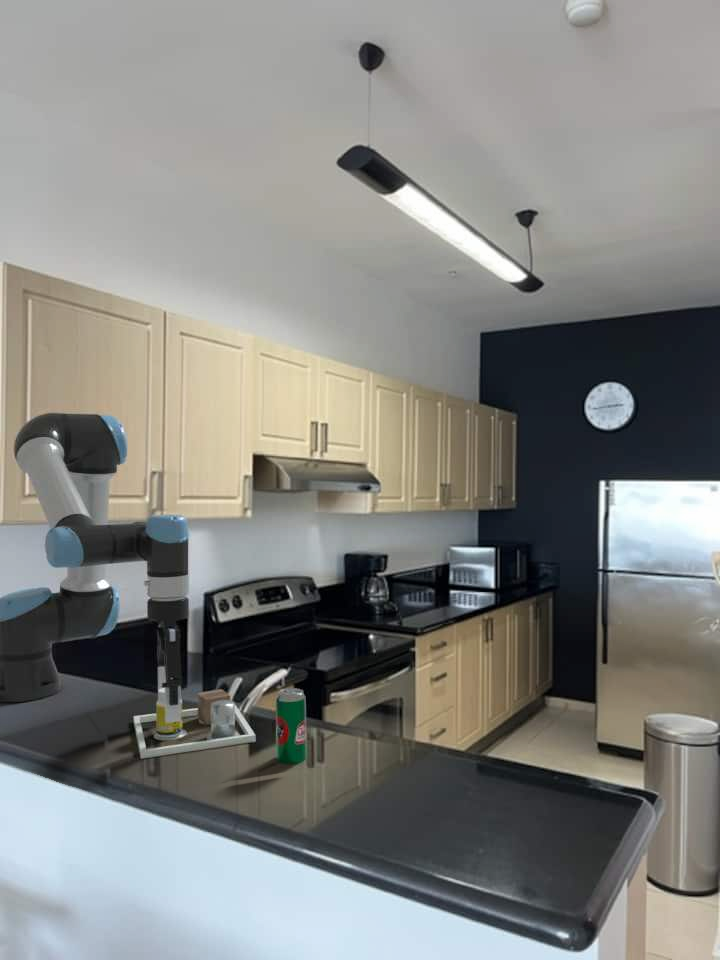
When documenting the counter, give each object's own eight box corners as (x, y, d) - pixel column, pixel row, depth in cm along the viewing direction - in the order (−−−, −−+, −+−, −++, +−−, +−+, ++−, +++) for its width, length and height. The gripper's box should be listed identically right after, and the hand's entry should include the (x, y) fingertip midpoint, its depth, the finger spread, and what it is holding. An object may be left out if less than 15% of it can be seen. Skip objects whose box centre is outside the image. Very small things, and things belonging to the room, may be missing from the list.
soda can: (301, 768, 119) (300, 696, 118) (272, 766, 120) (271, 695, 120) (310, 757, 123) (309, 688, 123) (282, 755, 125) (281, 686, 124)
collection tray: (133, 725, 141) (133, 716, 141) (234, 712, 148) (234, 703, 148) (140, 762, 122) (140, 751, 122) (255, 745, 129) (255, 735, 129)
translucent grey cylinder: (209, 733, 134) (208, 701, 134) (232, 730, 135) (232, 698, 135) (213, 741, 129) (212, 708, 129) (237, 738, 131) (236, 705, 131)
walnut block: (197, 718, 143) (197, 693, 142) (221, 713, 145) (221, 689, 145) (206, 725, 138) (205, 699, 138) (230, 720, 141) (230, 695, 141)
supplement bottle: (177, 739, 131) (176, 693, 131) (152, 738, 132) (151, 693, 132) (186, 729, 136) (185, 685, 136) (162, 729, 136) (161, 685, 136)
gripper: (142, 588, 144) (143, 692, 144) (153, 611, 121) (154, 735, 121) (180, 585, 147) (181, 688, 147) (198, 607, 123) (199, 729, 124)
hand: (169, 709), depth 134 cm, fingers open, 13 cm apart
